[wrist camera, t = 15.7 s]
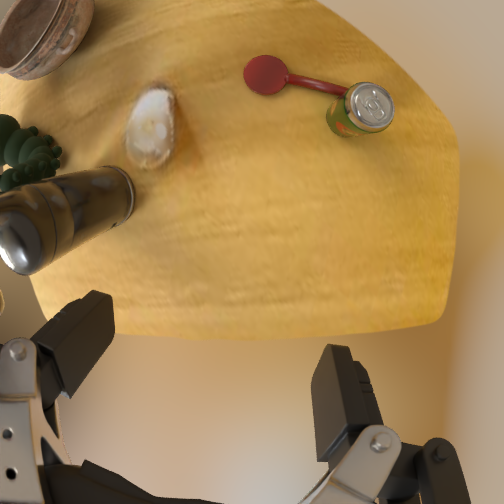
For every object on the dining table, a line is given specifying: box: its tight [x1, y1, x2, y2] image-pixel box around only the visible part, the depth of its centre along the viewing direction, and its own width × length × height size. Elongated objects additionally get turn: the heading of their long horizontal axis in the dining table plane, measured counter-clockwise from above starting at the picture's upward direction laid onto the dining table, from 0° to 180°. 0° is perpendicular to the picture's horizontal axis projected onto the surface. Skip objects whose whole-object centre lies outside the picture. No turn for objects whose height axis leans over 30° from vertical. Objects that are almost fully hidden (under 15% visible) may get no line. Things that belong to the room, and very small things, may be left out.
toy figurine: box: [0, 114, 62, 191], centre depth 28 cm, size 9×19×25 cm
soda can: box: [326, 82, 395, 137], centre depth 26 cm, size 5×5×12 cm
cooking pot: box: [0, 0, 94, 80], centre depth 23 cm, size 25×19×12 cm
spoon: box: [244, 55, 349, 96], centre depth 30 cm, size 18×6×1 cm, turn 79°
